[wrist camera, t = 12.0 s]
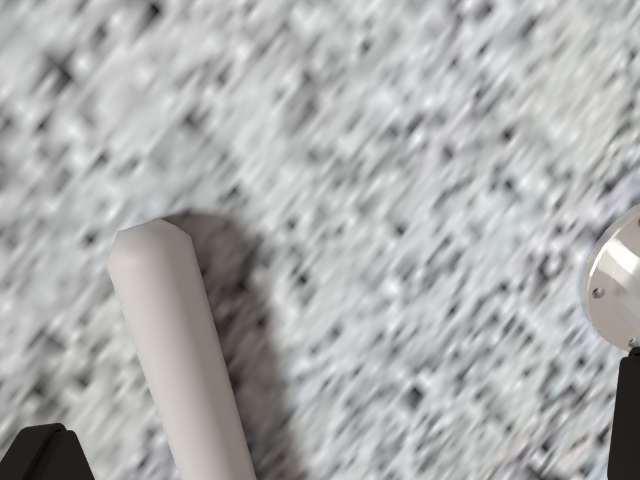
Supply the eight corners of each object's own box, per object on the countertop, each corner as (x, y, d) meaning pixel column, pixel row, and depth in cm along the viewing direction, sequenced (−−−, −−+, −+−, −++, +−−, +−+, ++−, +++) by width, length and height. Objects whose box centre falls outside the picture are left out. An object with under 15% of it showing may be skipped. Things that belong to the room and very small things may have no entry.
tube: (74, 245, 31) (185, 545, 41) (157, 243, 29) (251, 556, 39) (128, 208, 35) (216, 486, 46) (202, 204, 34) (276, 494, 44)
